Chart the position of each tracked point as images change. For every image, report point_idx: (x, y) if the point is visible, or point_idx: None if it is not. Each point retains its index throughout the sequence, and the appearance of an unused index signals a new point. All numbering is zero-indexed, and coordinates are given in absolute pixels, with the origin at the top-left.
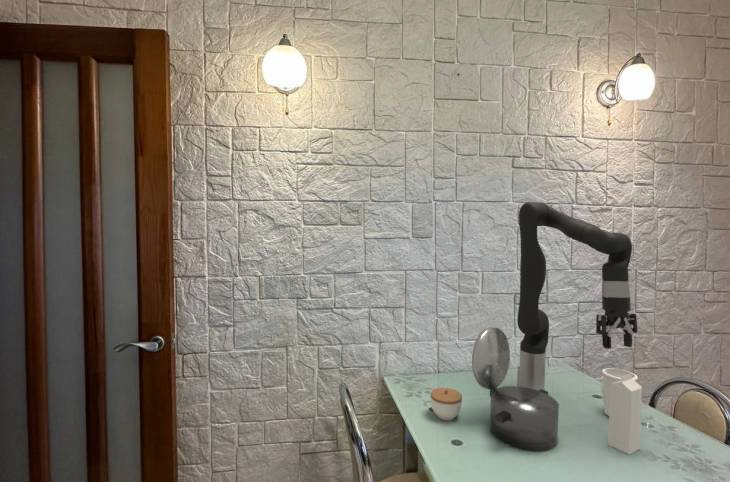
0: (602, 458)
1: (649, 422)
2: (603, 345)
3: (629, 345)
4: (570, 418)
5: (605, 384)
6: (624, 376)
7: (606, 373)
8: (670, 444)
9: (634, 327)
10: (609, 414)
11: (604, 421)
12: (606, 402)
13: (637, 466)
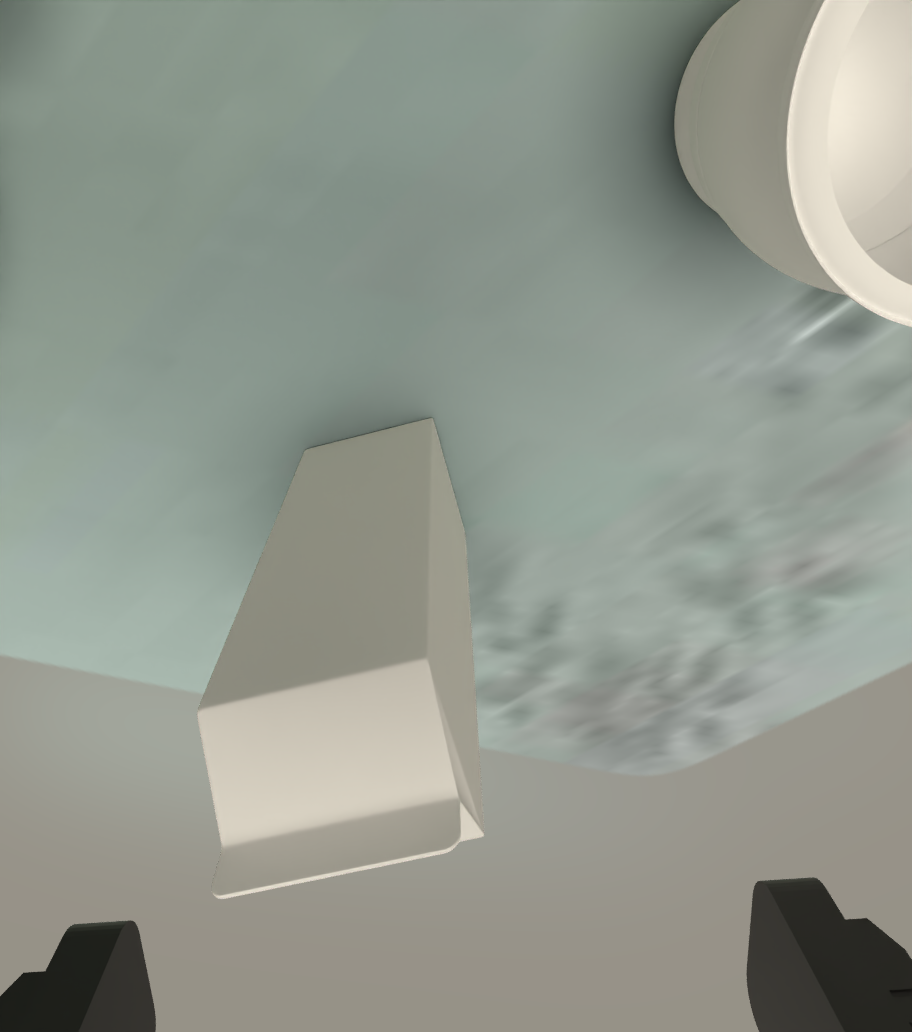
0: (150, 552)
1: None
2: (13, 1000)
3: (760, 1015)
4: (303, 41)
5: (752, 62)
6: (280, 883)
7: (830, 42)
8: (711, 538)
9: None
10: (266, 544)
11: (561, 172)
12: (696, 87)
13: None
